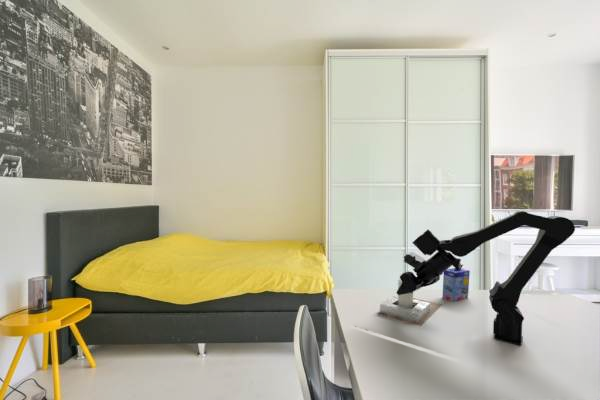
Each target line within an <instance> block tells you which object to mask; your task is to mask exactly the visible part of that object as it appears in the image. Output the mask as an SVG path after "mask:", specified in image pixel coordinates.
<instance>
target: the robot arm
mask: <svg viewBox="0 0 600 400" xmlns="http://www.w3.org/2000/svg"><path fill="white" fill-rule="evenodd" d="M574 224H575V223H574V222H573V221H572V220H571V219H569V218H567V217H565V216H558V215H552V216H551V215H550V216H547V217H545V216H541V215H537V214H533V213H530V212H527V211H523V210H517V211H516V212H514V213H513V214H511V215H509V216H506V217H504V218H502V219H500V220H498V221H495V222H493V223H491V224H488V225H487V226H485V227H482V228H480V229H478V230H476V231H472V232H468V233H463V234H461V235H456V236H453V237H452V238H451V239H446V240H445V239H442V240H440V239H438V237H437V236H435V235H434V234H433V233H432V231H431V230H430V229H426V230H425V231H424V232H423V233H422V234H420V235H419V236H418V237H416V239H414V240H413V241H412V242H411V243H412V244H413V245H414V246H415V247H416V248H417V249H418V250H419V251H420V252H421V253H422V254H423V255H424V256H431V257H430V258H429V259H427V260H426V259H425V258H424V257H422V256H420V255H419V254H417V253H416V252H414V251H412V252H407V253H406V254H405V256H403V263H406V264H407V265H409V266H410V267H412V268H413V269H412V270H413V272H412V271H406V272H403V273H402V274H400V276H399V279H401V281H402V284H401V286H400V287H399V289H398V288H397V290H396V292H395V293H396V295H397V296H398V295H402V294H407V293H413V294H414V293H415V292H417V291H419V290H420V289H421V288H424V287H428V286H431V285H434V284H436V283H437V282H438V281H440V279H441V277H440V276H441V275H444V271H446V270H447V269H450V267H454V268H456V269H457V270H459V268H460V267H461V265H462V264H461V261H462V259H461V258H462V257H463V258H464V257H466V256H467V255H469V254H470V253H471V252H473V251H475V250H476V249H478V248H479V247H480V246H481V245H483V244H484V243H487V242H488V241H491V240H493V239H496V238H498V237H500V236H502V235H504V234H507V233H510V232H511V231H513V230H516V229H518V228H521V227H523V226H526V227H529V228H534V229H537V230H538V232H537V235H536V239H535V241H534V243H533V244H532V246H531V247H530V248H529V249H528V251H527V252H526V254H525V255H524V256H523V258H522V259H521V261H520V262H519V263H518V265H516V267H515V268H514V270H513V271H512V273H511V274H510V275H509V277H508V278H507V279H506V280H505V281H504V282H502V283H501V282H499V281H498V280H497V281H495V284H494V286H493V287H492V288H491V289H489V295H488V298H489V301H490V304H491V308H492V309H493V311H494V312H496V315H495V318H493V326H492V327H493V328H492V330H493V333H492V334H493V335H494V337H493V338H494V339H495V340H499V341H503V342H505V343H509V344H515V345H517V346H522V344H523V339H524V338H523V321H524V320H525V317H524V315H523V313H522V312H521V310H520V308H519V307H518V306H517V305H518V303H519V301H520V297H521V294H522V290H523V289H524V288H525V286H526V285H527V284H528V282H529V281H530V280H531V279H532V277H533V276H534V275H535V273H536V272H537V271H538V269H539V268H540V266H541V265H542V264H543V263H544V261H545V260H546V259H547V258H548V256H549V255H550V253H551V252H552V251H553V250H554V249H555V248H557V247H559V246H560V245H562V244H563V243H564V242H566V241H567V240H568V239H569V238H570V237H572V235H573V234H574V233H575V231H576V227H575V225H574ZM434 253H435V254H434ZM457 257H460V258H457ZM414 273H415V274H414Z"/></svg>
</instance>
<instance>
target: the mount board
mask: <svg viewBox="0 0 600 400" xmlns="http://www.w3.org/2000/svg"><path fill="white" fill-rule="evenodd" d="M413 299H414V300H419V301H423V302H428V303H430V312H429V313H428V314H427V315H426V316H425V317H424V318H423V319H422V320H421V321H420V322H419V323H416V322H412V321H409V320H405V319H401V318H397V317H394V316H390V315H386V314H383V313H380V311H379V312H377V313H376V314H377V315H380V316H383V317H388V318H391V319H395V320H398V321H401V322H405V323H409V324H413V325H416V326H419V327H420V326H421V327H422V326H423V325H424V324H425V323H426V322H427V321H428V320H429V319H430V318H432V316H433V315H434V313H435V314H436V312H437V311H438V310H439V309H440V308H441V307H442V306H443V304H442V303H439V302H432V301H429V300H428V301H427V300H424V299H419V298H414V297H413Z"/></svg>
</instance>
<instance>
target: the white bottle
mask: <svg viewBox="0 0 600 400" xmlns="http://www.w3.org/2000/svg"><path fill="white" fill-rule="evenodd" d="M397 283H398V284H397V290H398V289H399V287H400V286H401V284H402V281H401V279H400V278H399V279H398V280H397ZM397 296H398V306H402V307H406V308H410V309H412V308H413V298H414V292H413V293H407V294H402V295H398V294H397Z"/></svg>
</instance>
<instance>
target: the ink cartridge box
mask: <svg viewBox="0 0 600 400" xmlns="http://www.w3.org/2000/svg"><path fill="white" fill-rule="evenodd" d="M463 266H464V264H461V266H460V268H459V270H457V269H456V268H455V267H454V268H448V269H447V270H446V271H444V272H443V278H442V297H441V298H443V299H445V300H449V301H451V302H458V301H461V300H467V299H468V298H469V288H470V287H469V286H470V273H471V272H470V270H469V269H465V268H463Z"/></svg>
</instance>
